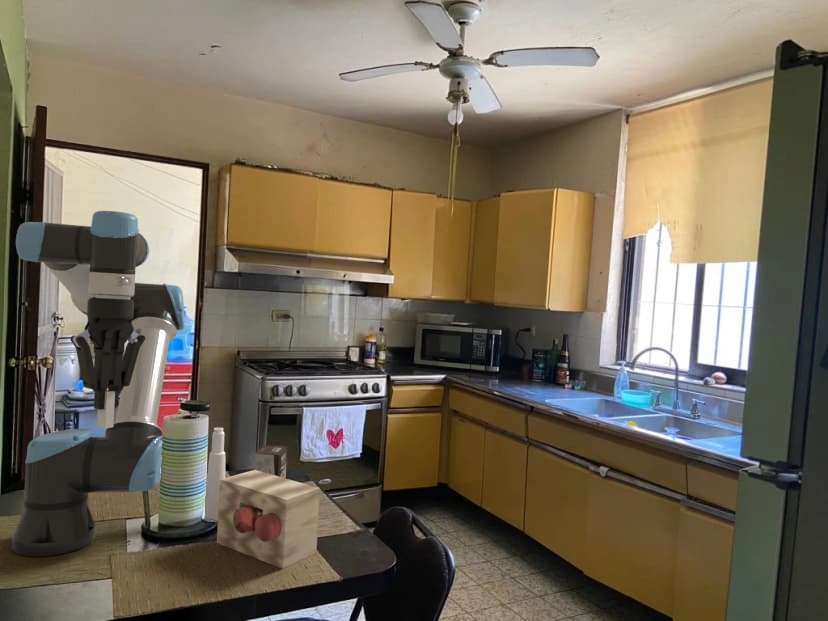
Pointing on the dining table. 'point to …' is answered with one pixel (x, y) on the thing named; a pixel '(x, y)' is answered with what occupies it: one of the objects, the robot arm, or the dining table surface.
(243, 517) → the knob
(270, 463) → the coffee box
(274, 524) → the block
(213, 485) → the cosmetic bottle
